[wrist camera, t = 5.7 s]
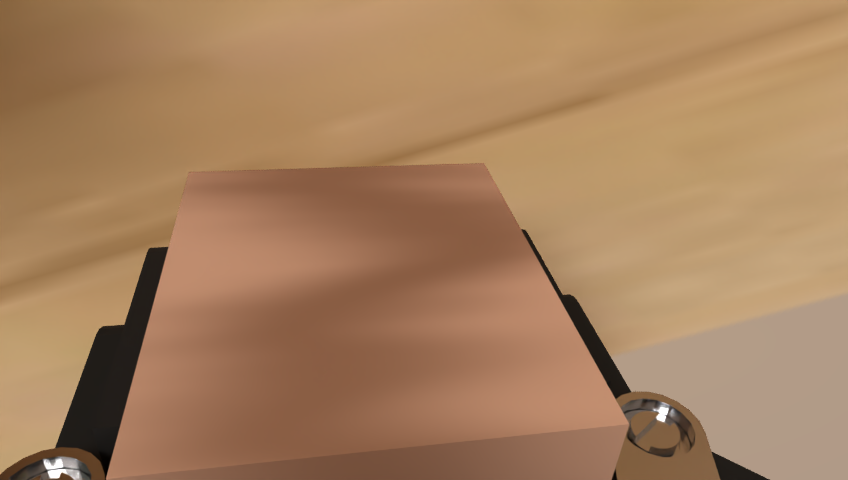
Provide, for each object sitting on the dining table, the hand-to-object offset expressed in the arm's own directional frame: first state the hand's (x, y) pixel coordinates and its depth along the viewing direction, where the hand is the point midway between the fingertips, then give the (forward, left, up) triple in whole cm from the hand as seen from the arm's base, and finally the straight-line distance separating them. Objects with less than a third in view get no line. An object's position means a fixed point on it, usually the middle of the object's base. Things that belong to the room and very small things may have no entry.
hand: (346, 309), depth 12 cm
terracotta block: (0, 0, -1) cm, 1 cm away
